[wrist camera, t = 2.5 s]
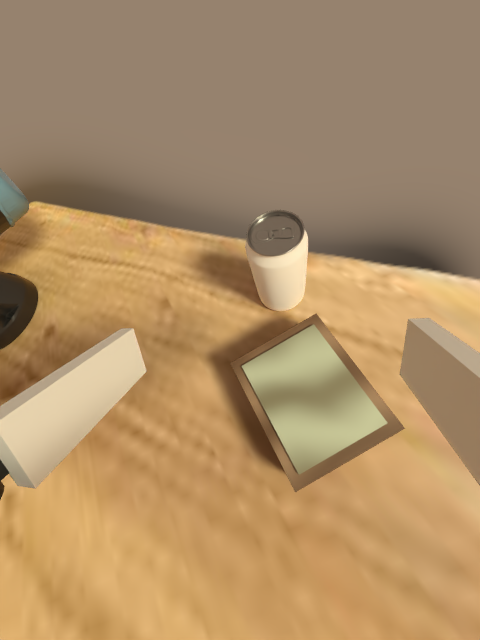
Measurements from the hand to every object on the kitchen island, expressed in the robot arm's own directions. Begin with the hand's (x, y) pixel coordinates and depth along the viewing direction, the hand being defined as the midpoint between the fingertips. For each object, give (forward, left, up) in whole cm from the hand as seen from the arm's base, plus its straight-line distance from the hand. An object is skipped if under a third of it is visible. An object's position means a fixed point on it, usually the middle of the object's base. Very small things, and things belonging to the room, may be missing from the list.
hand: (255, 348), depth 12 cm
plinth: (+2, +2, -19) cm, 19 cm away
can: (-12, +7, -19) cm, 23 cm away
